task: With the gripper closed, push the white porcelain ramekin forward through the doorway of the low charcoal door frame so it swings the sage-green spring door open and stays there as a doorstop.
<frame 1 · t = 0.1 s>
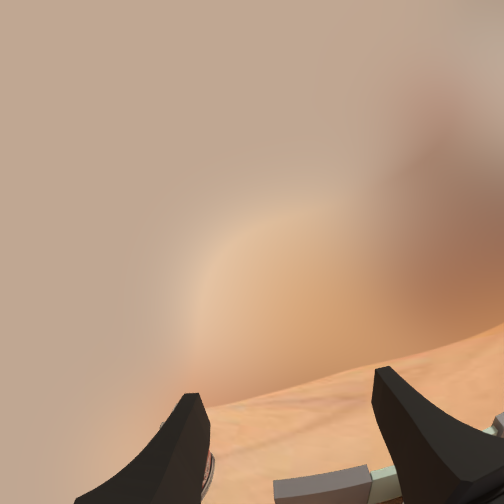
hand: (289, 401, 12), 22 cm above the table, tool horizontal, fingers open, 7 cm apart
door: (432, 466, 21), point 3 cm above the table, hinge at 0.0°
lighter: (198, 479, 29), on the table
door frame: (427, 484, 21), on the table
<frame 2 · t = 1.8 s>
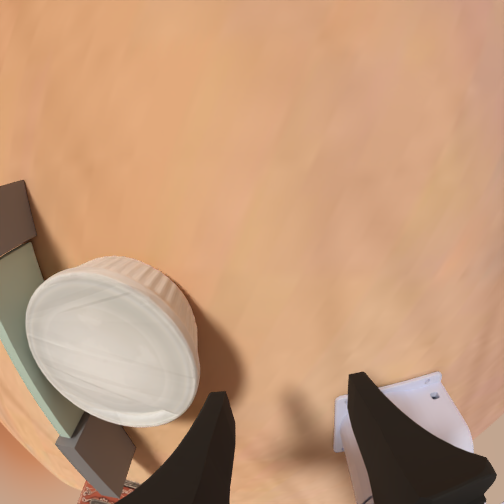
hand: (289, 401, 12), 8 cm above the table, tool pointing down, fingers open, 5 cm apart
door: (35, 345, 18), point 3 cm above the table, hinge at 0.0°
ramekin: (131, 317, 21), on the table
lighter: (115, 480, 29), on the table
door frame: (58, 324, 21), on the table
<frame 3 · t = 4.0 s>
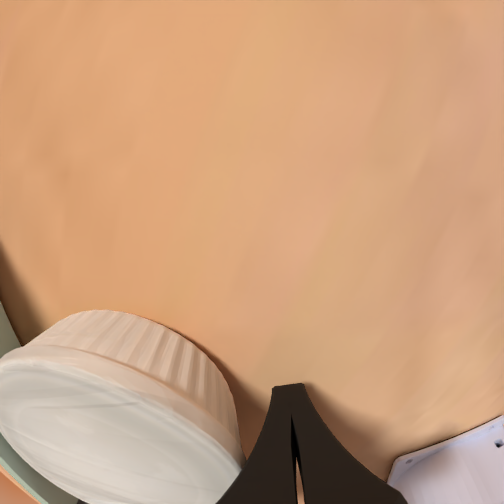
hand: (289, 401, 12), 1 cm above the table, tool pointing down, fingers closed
door: (12, 417, 11), point 3 cm above the table, hinge at 0.0°
ramekin: (136, 385, 14), on the table, touching gripper
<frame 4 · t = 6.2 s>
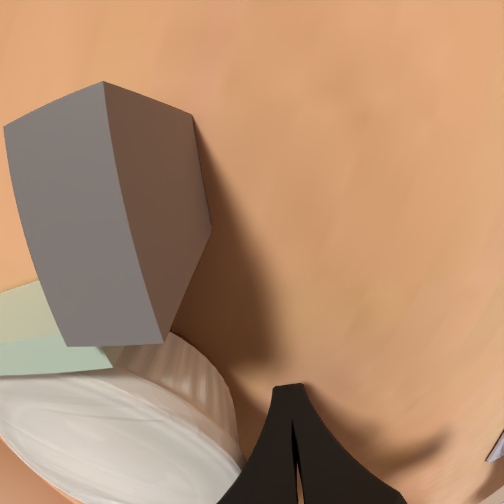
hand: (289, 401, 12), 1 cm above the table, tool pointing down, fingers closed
ramekin: (135, 386, 14), on the table, touching gripper
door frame: (223, 385, 13), on the table
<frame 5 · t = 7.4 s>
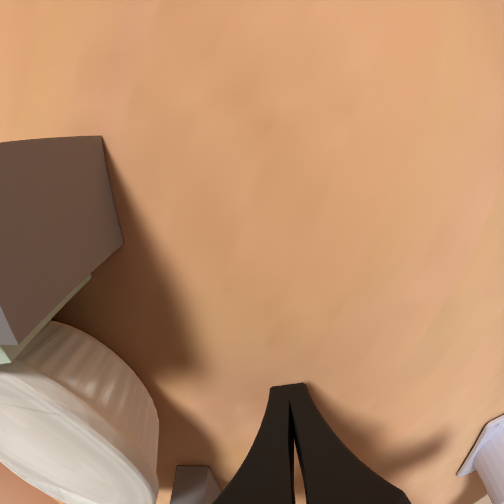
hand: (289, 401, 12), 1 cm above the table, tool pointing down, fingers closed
ramekin: (78, 386, 14), on the table
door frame: (152, 388, 13), on the table
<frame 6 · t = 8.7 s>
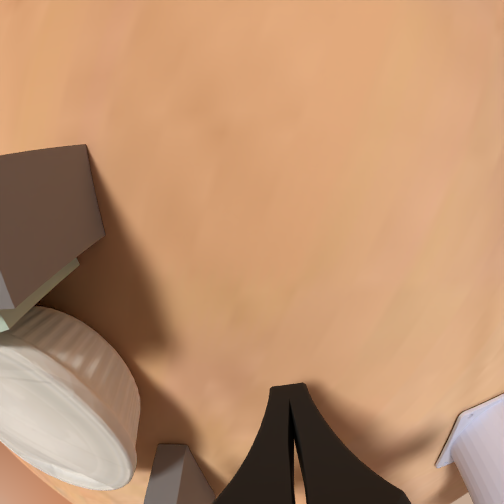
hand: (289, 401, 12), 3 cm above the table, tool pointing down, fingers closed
ramekin: (70, 368, 16), on the table
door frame: (132, 366, 15), on the table
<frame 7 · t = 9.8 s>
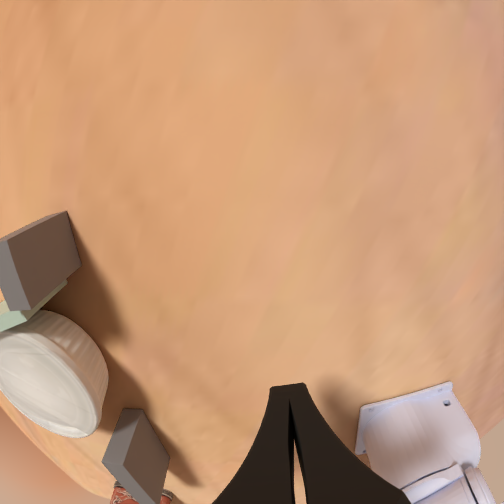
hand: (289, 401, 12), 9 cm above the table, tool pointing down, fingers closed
ramekin: (64, 352, 23), on the table
lighter: (143, 488, 31), on the table
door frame: (102, 348, 22), on the table
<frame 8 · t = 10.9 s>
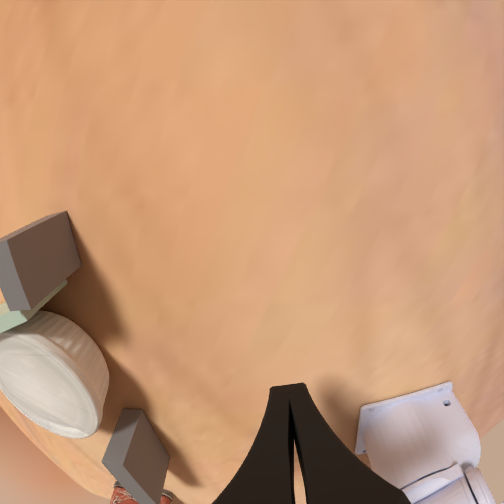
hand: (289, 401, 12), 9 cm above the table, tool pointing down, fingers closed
ramekin: (64, 353, 23), on the table
lighter: (143, 488, 31), on the table
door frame: (102, 348, 22), on the table
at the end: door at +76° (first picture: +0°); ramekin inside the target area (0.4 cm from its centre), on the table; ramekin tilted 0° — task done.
